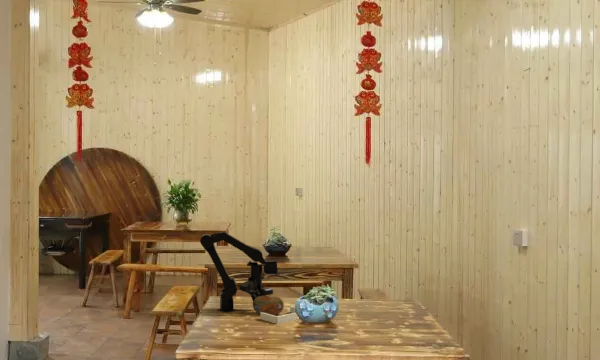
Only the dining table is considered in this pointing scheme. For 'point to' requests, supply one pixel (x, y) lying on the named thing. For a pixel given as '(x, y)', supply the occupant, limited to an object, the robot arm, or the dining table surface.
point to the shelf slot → (280, 317)
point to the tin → (268, 305)
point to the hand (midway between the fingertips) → (255, 306)
